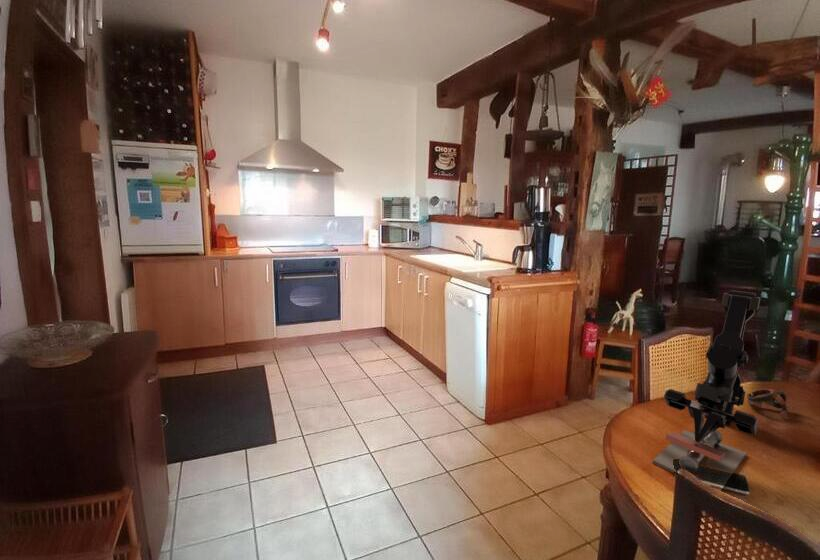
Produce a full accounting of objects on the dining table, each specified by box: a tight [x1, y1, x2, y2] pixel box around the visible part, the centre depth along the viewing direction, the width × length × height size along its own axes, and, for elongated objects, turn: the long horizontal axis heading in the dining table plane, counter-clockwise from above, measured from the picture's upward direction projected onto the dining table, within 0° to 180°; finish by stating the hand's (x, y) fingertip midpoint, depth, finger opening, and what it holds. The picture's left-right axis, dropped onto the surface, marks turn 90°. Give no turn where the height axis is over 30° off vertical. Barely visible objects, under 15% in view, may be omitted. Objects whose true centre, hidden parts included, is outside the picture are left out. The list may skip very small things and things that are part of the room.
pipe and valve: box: [679, 429, 723, 473], centre depth 105 cm, size 20×4×4 cm, turn 130°
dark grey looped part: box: [746, 388, 789, 421], centre depth 131 cm, size 12×10×8 cm
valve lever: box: [665, 431, 726, 461], centre depth 102 cm, size 1×11×9 cm
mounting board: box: [652, 429, 747, 491], centre depth 106 cm, size 23×14×1 cm, turn 130°
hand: (697, 441), depth 101 cm, fingers closed
